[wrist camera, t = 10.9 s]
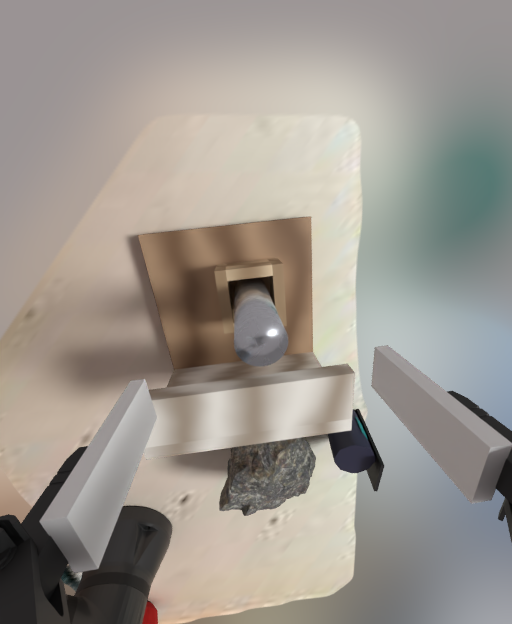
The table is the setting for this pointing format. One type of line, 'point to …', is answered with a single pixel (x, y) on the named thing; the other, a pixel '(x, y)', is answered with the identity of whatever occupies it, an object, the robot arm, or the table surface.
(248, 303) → the peg
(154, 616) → the apple
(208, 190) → the table surface
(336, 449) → the speaker
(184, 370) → the socket board
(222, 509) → the rock
